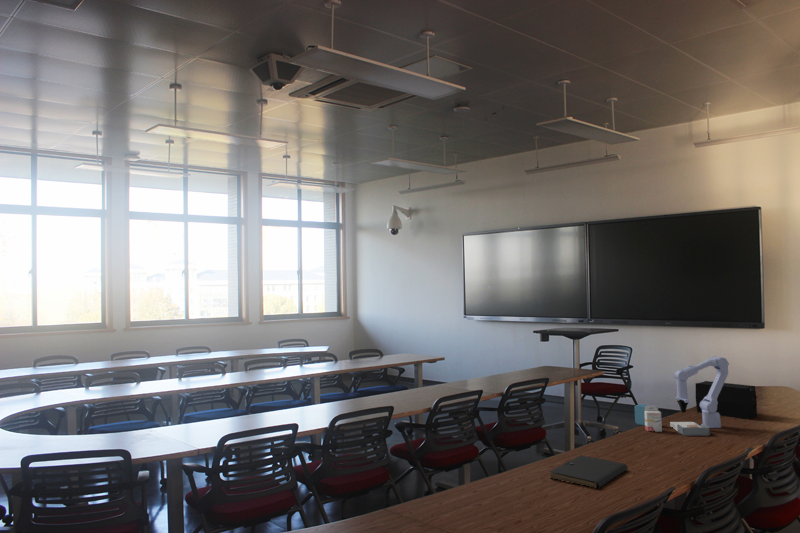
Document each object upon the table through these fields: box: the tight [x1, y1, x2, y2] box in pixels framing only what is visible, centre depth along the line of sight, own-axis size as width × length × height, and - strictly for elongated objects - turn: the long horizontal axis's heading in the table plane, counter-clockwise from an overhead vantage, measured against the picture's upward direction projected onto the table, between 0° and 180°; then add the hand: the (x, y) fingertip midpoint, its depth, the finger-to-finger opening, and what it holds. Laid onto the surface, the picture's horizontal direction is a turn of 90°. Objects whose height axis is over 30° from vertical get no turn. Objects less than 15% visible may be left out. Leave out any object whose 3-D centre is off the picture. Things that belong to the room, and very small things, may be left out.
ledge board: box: [669, 421, 703, 432], centre depth 345 cm, size 14×14×2 cm
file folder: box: [549, 455, 629, 489], centre depth 267 cm, size 33×4×24 cm
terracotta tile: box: [687, 425, 699, 428], centre depth 333 cm, size 5×5×2 cm
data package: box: [633, 404, 654, 426], centre depth 359 cm, size 12×4×12 cm, turn 39°
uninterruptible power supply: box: [695, 380, 758, 420], centre depth 379 cm, size 16×34×20 cm, turn 35°
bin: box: [677, 423, 711, 437], centre depth 333 cm, size 15×9×4 cm, turn 82°
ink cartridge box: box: [644, 405, 663, 433], centre depth 343 cm, size 9×5×15 cm, turn 84°
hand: (683, 412), depth 348 cm, fingers closed
